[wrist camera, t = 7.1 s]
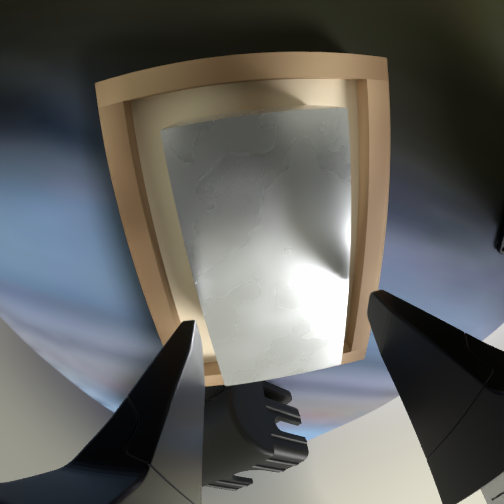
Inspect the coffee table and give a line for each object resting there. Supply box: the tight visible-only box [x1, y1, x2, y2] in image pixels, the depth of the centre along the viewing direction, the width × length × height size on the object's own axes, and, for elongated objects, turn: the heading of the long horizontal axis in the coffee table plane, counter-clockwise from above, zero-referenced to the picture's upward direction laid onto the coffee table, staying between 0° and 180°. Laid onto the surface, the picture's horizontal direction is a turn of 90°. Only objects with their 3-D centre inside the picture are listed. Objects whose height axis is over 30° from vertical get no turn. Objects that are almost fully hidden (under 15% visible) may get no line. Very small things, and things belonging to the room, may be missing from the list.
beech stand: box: [95, 52, 390, 387], centre depth 14 cm, size 11×16×3 cm
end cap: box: [202, 381, 309, 491], centre depth 19 cm, size 10×7×7 cm
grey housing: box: [160, 105, 351, 386], centre depth 11 cm, size 10×5×4 cm, turn 7°
